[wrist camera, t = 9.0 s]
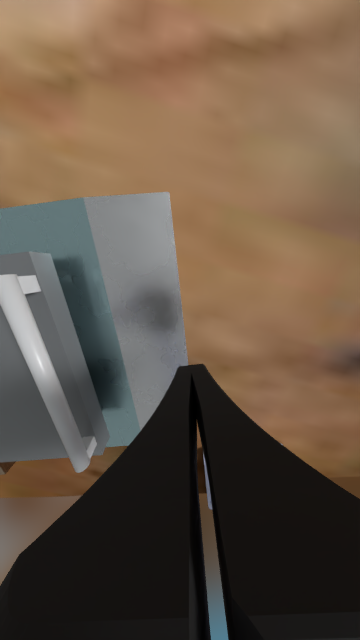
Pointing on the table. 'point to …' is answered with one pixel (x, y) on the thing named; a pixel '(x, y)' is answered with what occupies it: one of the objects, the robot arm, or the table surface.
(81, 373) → the cabinet door with handle
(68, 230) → the dock bay
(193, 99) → the table surface
